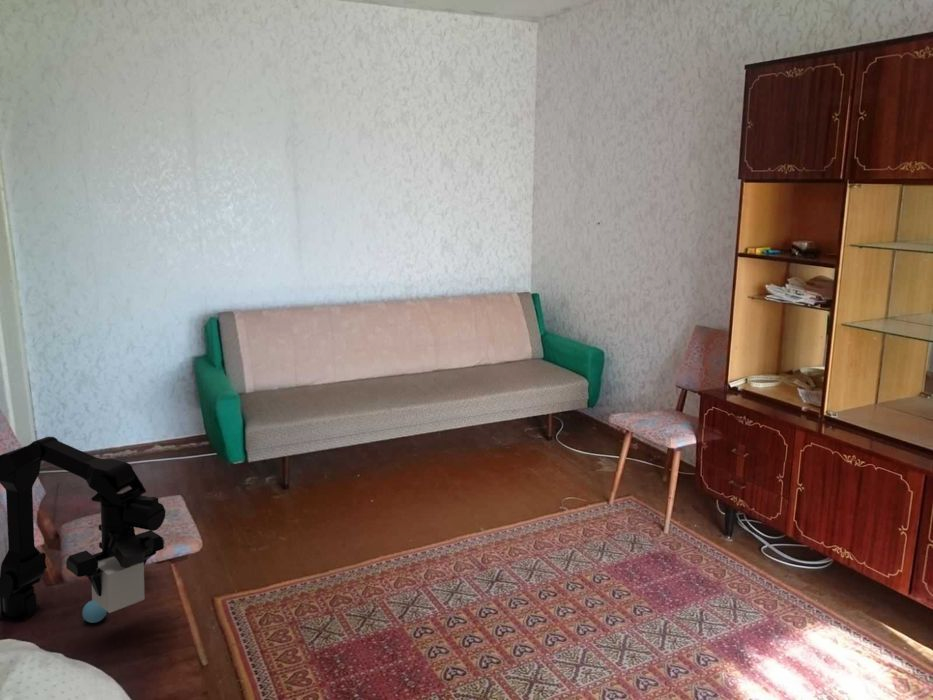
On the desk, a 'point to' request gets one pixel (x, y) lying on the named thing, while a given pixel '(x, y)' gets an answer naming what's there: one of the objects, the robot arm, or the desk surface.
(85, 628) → the desk surface
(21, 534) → the robot arm
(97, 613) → the ball
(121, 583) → the matte white cube
